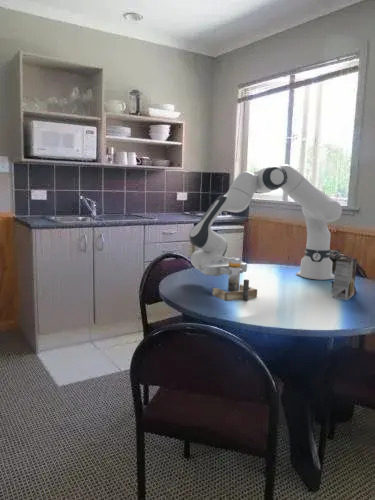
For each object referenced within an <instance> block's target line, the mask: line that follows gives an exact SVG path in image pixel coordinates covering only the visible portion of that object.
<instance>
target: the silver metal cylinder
mask: <svg viewBox="0 0 375 500" xmlns="http://www.w3.org/2000/svg"><path fill="white" fill-rule="evenodd" d="M241 261H242V260H241V258H239V257H233V258H230V260H229V270H231V274H229V275H228V278H227V279H228V280H227V281H228V283H227V292H233V291H239V286H240V277H241V275H240V274H241V273H240V267H241Z"/></svg>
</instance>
